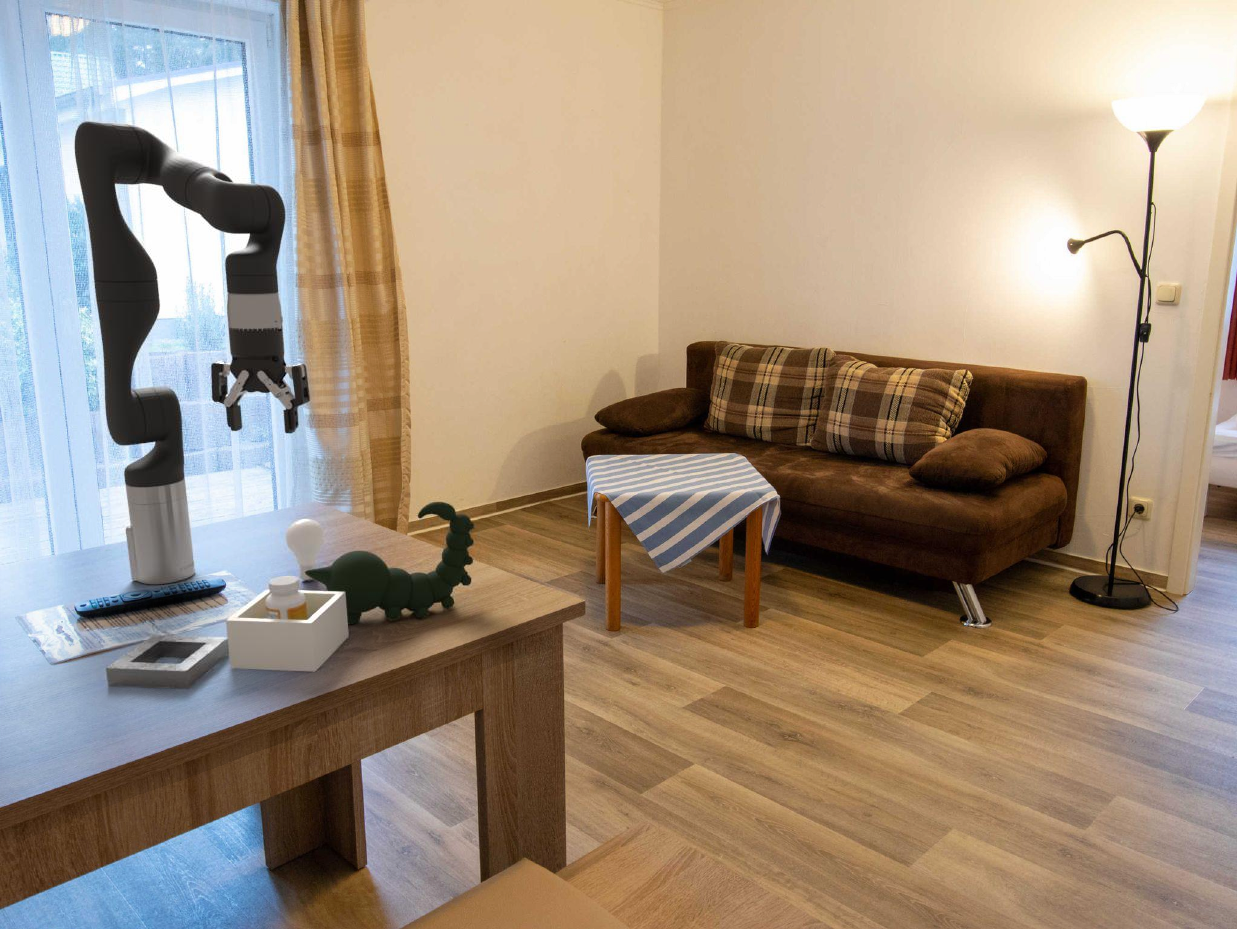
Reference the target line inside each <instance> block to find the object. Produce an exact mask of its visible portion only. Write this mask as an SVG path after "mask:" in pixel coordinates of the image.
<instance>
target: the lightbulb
mask: <svg viewBox="0 0 1237 929" xmlns="http://www.w3.org/2000/svg"><path fill="white" fill-rule="evenodd" d="M324 530H325V529H324V528H323V527H322V525H321V524H320V523H319V522H318V521H316V520H314V519H312V518H311V519H310V518H301V519H297V520H296V521H294V522H293V523H291V525H289V527H288V528H287V530H286V533H285V542H286V545H287V547H288V549H289V551H291V552H292V554H294V556H295V558H296V562H297V564H298V565H299V572H300V579H301V580H303V581H305V582H312V581H313V580H314V579H313V578H311V577H309V576H307V575H306V574H305V571H307V570H312V569H317V561H318V557H319V553H320V551H321V549H322V547H323V546H324V544H325V539H326V535H325V534H326V533H325V531H324Z"/></svg>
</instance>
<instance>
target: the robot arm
mask: <svg viewBox="0 0 1237 929" xmlns="http://www.w3.org/2000/svg"><path fill="white" fill-rule="evenodd" d="M74 156H75V164H76V169H77V175H78V178H79V179H78V180H79V183H80V190H81V194H82V199H83V204H84V209H85V214H86V220H87V225H88V232H89V239H90V240H89V241H90V247H91V248H90V249H91V257H92V259H91V260H92V269H93V270H92V271H93V283H94V293H95V300H96V301H95V302H96V306H97V313H98V321H99V327H100V334H101V335H100V336H101V344H102V354H103V375H104V378H103V379H104V380H103V382H104V402H105V403H104V404H105V406H104V407H105V418H106V425H107V428H108V432H109V435H110V437H111V439H112V440H113V441H114V443H115V444H117V445H118V446H133V445H134V446H135V445H140V444H141V445H143V444H148V443H149V444H150V443H154V446H153V447H152V449H151V450H150V451H149V452H148V453H147V454H146V455H144V456H142V457H141V458H139V459H137V460H135V461H133V462H131V463H130V464H128V465H126V466H125V468H124V471H123V476H124V484H125V490H126V492H125V493H126V500H127V507H128V508H127V509H128V514H129V523H130V525H128V526H126V527H125V537H126V543H127V544H126V545H127V551H128V552H127V553H128V561H129V567H130V575H131V577H130V578H131V581H134V582H139V583H142V584H145V585H163V584H171V583H175V582H180V581H183V580H185V579H188V578H190V577H192V576H194V575H195V573H196V569H195V568H196V567H195V560H194V550H193V541H192V533H191V530H192V529H191V525H190V524H191V522H190V514H189V505H188V504H189V503H188V495H187V487H186V486H187V485H186V478H185V476H186V475H185V455H184V454H185V453H184V452H185V451H184V440H183V439H184V437H183V435H184V434H183V421H182V420H183V418H182V417H183V416H182V409H181V405H180V401H179V398H178V396H177V393H176V392H175V391H174V390H173V389H172V388H170V387H168V386H151V387H141V388H133V389H132V377H133V369H134V366H135V362H136V360H137V357H138V354H139V352H140V350H141V349H142V346H143V344H144V343H145V341H146V339H147V338H148V336H149V334H150V332H151V331H152V329H153V327H154V326H155V323H156V321H157V319H158V316H159V314H160V309H161V308H160V307H161V303H160V302H161V300H160V291H159V280H158V273H157V272H158V271H157V269H156V266H155V264H154V262H153V260H152V258H151V256H150V255H149V253H148V252H147V250H146V248H144V246H143V245H142V243H141V242H140V241H139V239H138V238H137V237H136V235H135V234H134V233H133V231H132V230H131V228H130V227H129V226H128V224H127V222H126V220H125V218H124V215H123V214H122V211H121V208H120V204H119V200H118V196H117V189H116V185H140V184H149V185H155V186H160V187H162V188H163V190H164V192H165V194H166V195H167V197H169V198H170V199H171V200H172V201H173V202H174V203H176V204H178V205H179V206H181V207H184V208H186V209H188V210H190V211H192V212H194V213H197V214H198V215H200V217H201V218H202V219H204V220H205V221H206V222H207V223H208V224H209V225H210V226H211V227H212V228H213V229H216V230H218V231H220V232H222V233H227V234H231V235H232V234H233V235H238V234H240V235H241V234H242V235H246V234H247V235H249V238H248V241H247V243H246V246H245V248H242V249H239V250H236V251H233V252H230V253H229V254H228V255H227V256H226V257H225V260H224V262H225V263H224V265H225V266H224V268H225V279H226V280H225V281H226V292H227V301H226V315H227V316H226V317H227V326H228V327H227V328H228V339H229V340H228V341H229V349H230V355H231V362H226V360H221V361H220V360H219V361H216V362H212V363H211V365H210V371H211V374H210V375H211V399H212V401H213V402H215V403H219V404H222V405H223V406H224V407H225V412H226V425H227V426H228V427H229V428H230V430H231V432H238V431H240V430H242V428H243V422H242V421H243V420H242V418H243V417H242V408H241V404H239V403H240V401H241V400H242V399H243V397H244V395H245V394H247V393H256V392H258V393H262V394H269V393H271V394H272V396H273V397H274V398H276V399H278V401H279V402H280V403H281V404H282V405H283V407H284V409H283V423H284V432H285V434H291V435H292V433H295V432H296V431H297V430H296V429H298V428H299V411H298V408H299V407H300V406H303V405H305V404H307V403H309V402H311V394H310V387H309V381H308V380H309V379H308V370H307V366H306V364H305V363H298V364H294V365H293V364H289V365H287V363H286V361H285V343H284V342H285V341H284V339H285V338H284V328H283V323H284V319H283V311H282V305H281V301H280V296H279V295H280V294H279V284H278V283H279V282H278V279H279V278H278V269H277V266H278V260H279V259H278V258H279V255H280V250H281V244H282V238H283V234H284V230H285V226H286V225H285V223H286V208H285V203H284V201H283V198H282V196H281V194H280V193H279V192H278V191H277V190H276V189H275V188H274V187H272V185H268V184H264V183H247V182H246V183H245V182H234V181H233V180H232V178H230V177H229V176H228V175H227V174H226V173H224V172H222V171H220V170H218V169H216V168H214V167H211V166H209V165H206V164H204V163H201V162H199V161H197V160H194V159H191V158H190V157H188V156H185V155H183V154H181V153H180V152H179V151H177V150H176V149H174V148H173V147H172V146H169V145H168V144H167V143H165V142H164V141H163V140H161V139H160V138H159V137H158V136H156V135H155V134H154V133H151V131H149V130H147V129H145V128H143V127H141V126H138V125H135V124H130V123H120V122H109V121H99V120H84V121H83V122H81V123H80V124H79V125H78V126H77V129H76V131H75V136H74ZM230 373H231V375H233V377H234V378H235V382H234V383H233V384H232V387H231V388H230V390H228V386H229V385H228V377H229V376H230ZM287 374H288V375H289V378H290V380H292V385H293V391H294V392H293V391H292V389H291V387H290V386H289V384H288V383H287V382H286V380H285V379H284V378H285V377H286V375H287ZM228 391H229V393H228Z"/></svg>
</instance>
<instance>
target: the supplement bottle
mask: <svg viewBox="0 0 1237 929" xmlns="http://www.w3.org/2000/svg"><path fill="white" fill-rule="evenodd" d="M299 580H300V579H299V577H297V576H294V575H284V576H278V577H277V576H276V577H274V578H272V579H270V580H269V582H268V589H269V590H270V593H272V594H270V595H269V596H268V597H267V598H266V601H265V605H266V615H267V619H289V620H307V608H306V598H305V595H304V594H303V593H302V592H301V591H298V590H300V581H299Z"/></svg>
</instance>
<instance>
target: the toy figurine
mask: <svg viewBox="0 0 1237 929" xmlns="http://www.w3.org/2000/svg"><path fill="white" fill-rule="evenodd" d="M427 515H433V516H434V515H435V516H438V517H439V518H440V519H443V521H447V522H449V531H448V532H447V534H445V535H446V536H445V543H446V544H445V545H446V546H445V548H443V550H442V553H441V561H440V562H438V564H437V565H436V566H435V570H431V571H429V572H427V573H425V572H418V571H417V572H412V573H409V572H408V571H407V570H404V569H402V568H399V567H390V568H389V567H388V564H386V562H385V561H384V560H383V559H382V558H381V557H380V556H378V555H377V554H375V553H372V552H369V551H367V550H353V551H349V552H346V553H344V554H341V555H340V556H339V557H338V558H337V559H335V561H333V563H332V564H331V565H329V566H324V567H319V568H318V567H316V569H312V570H307V571H305V574H306V575H307V576H309V577H311V578H313V580H315V581H317V582H318V583H320V584H322V585H323V586H325V587H326V591H338V592H345V594H346V608H347V622H348V624H349V625H354V624H356V623H357V622H358V621H360V620H361V617H362V614H363V613H367V612H370V611H372V610H375V609H376V608H379V609H380V610H382V611H384V614H385V615H384V616H385V617H386V619H389V620H390V621H391V622H393V621H395V620H399V619H400V617H401V616H402V615H403V613H402V611H403V610H405V609H406V610H408V611H409V612H414V614H415V616H416V617H417V618H418V619H422V618H424V619H425V618H427V617H428V616H429V612H430V610H429V609H430V608H432V607H433V605H434V604H436V603H437V604H439V603H441V607H443V608H445V609H447V610H448V609H450V608H452V607H453V606H454V604H455V599H454V597H453V596H452V594H453V591H454V588H456V587H458V586H459V585H460V584H461V585H462V586H466V587H467V586H469V585H471V583H472V577H471V576H470V574H469V573H468V572H467V570H466V568H465V567H466V566H471V565H472V564H473V563H474V559H473V557H472V556H470V554H469V550H468V549H469V548H470V547H471V546H473V545H474V543H475V542H474V539H473V538H472V536H471V533H470V531H472V530H474V529H475V524H474V522H472V520H471V518H470V516H468V515H466V514H464V513H458V514H456V509H455V507H454V506H453V505H451V504H450V503H447V502H444V501H433V502H429V503H428V504H426V505H425V506H423V507H422V508H421V509H420V511H418V513H417V518H418V519H422V518H424V517H425V516H427Z"/></svg>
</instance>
